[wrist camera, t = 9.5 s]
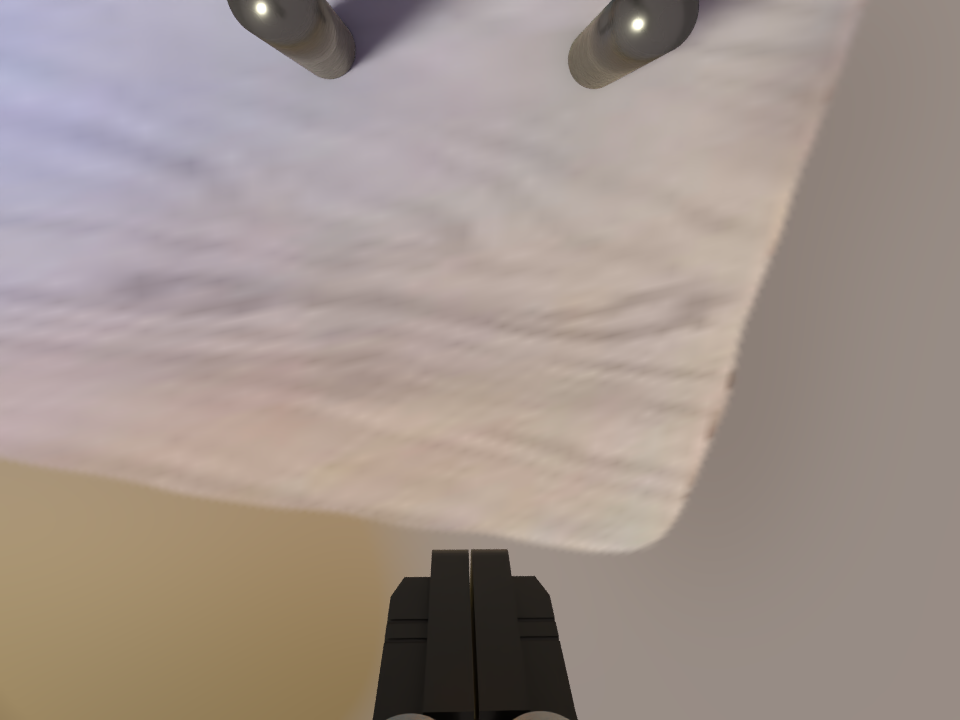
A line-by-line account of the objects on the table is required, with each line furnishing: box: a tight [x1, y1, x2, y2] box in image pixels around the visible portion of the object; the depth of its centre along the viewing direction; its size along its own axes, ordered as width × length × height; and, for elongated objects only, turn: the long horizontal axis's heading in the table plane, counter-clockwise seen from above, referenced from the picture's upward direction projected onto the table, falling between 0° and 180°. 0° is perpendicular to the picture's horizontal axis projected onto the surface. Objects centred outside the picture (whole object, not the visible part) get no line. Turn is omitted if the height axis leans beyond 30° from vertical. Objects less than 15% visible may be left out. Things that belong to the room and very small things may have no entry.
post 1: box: [227, 0, 356, 79], centre depth 22 cm, size 3×3×9 cm
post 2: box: [568, 0, 699, 89], centre depth 23 cm, size 3×3×9 cm
